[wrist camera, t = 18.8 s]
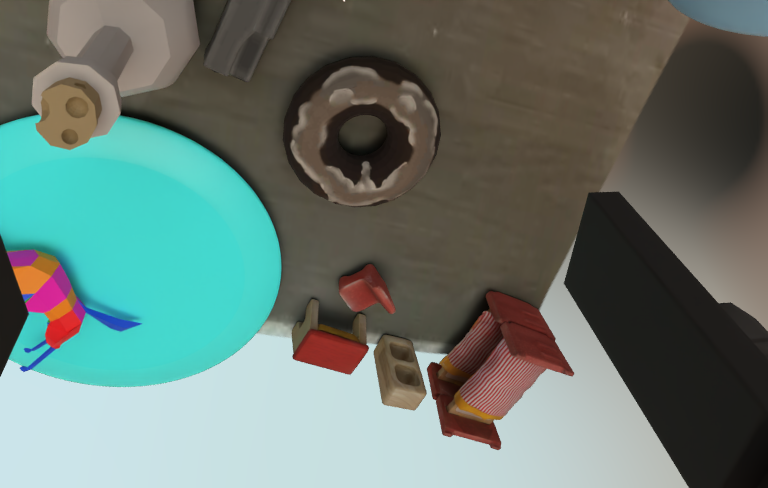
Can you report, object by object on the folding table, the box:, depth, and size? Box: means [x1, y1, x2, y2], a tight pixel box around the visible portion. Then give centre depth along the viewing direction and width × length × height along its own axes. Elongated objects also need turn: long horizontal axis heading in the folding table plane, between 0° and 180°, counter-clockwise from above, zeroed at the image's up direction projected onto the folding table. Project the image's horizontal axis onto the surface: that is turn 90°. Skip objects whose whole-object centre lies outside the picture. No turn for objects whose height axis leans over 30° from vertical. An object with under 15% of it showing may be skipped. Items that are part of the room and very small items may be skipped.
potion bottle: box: [32, 0, 200, 150], centre depth 34 cm, size 9×9×18 cm
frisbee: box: [0, 115, 281, 387], centre depth 51 cm, size 27×27×2 cm
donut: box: [283, 57, 441, 207], centre depth 47 cm, size 12×12×4 cm
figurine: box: [7, 249, 142, 372], centre depth 47 cm, size 4×15×9 cm
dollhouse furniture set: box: [292, 264, 574, 450], centre depth 57 cm, size 12×22×9 cm, turn 61°
